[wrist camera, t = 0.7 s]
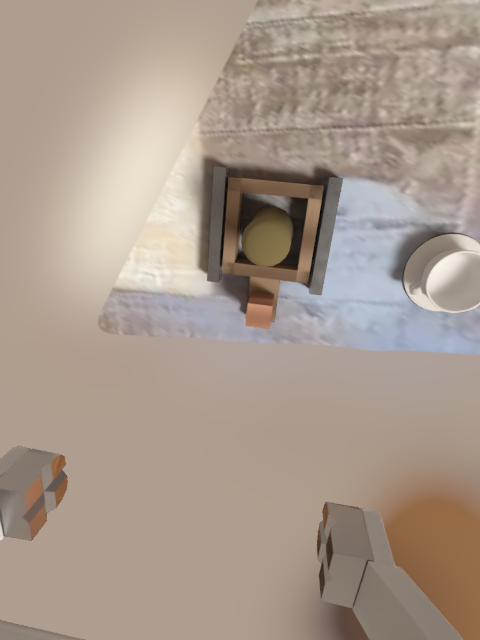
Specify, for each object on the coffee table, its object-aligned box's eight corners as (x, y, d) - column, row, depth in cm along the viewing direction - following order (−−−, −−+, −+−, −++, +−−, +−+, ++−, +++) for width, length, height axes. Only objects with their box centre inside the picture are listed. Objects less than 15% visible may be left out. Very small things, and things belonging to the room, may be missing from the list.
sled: (232, 177, 44) (223, 176, 38) (322, 185, 43) (326, 186, 37) (222, 312, 50) (213, 328, 45) (299, 322, 49) (300, 340, 44)
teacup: (481, 221, 42) (503, 226, 38) (491, 297, 45) (513, 309, 41) (394, 248, 44) (406, 255, 40) (410, 318, 47) (421, 332, 43)
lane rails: (217, 167, 44) (213, 166, 41) (340, 178, 42) (342, 178, 40) (211, 276, 49) (207, 280, 46) (319, 289, 47) (321, 295, 45)
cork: (275, 263, 47) (270, 285, 37) (238, 235, 46) (223, 250, 36) (304, 226, 45) (308, 238, 35) (266, 196, 44) (259, 200, 34)
